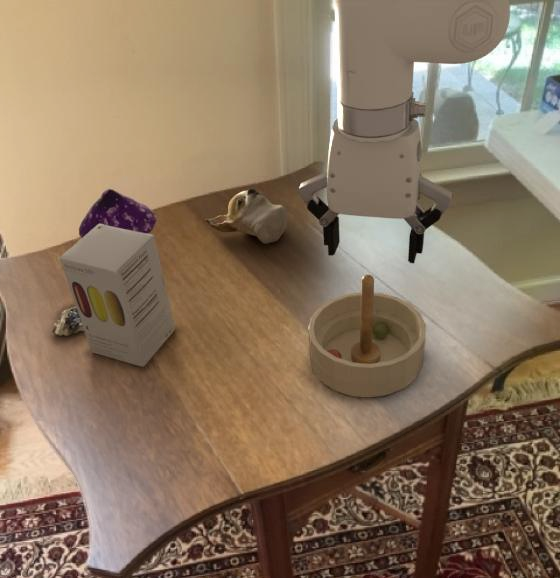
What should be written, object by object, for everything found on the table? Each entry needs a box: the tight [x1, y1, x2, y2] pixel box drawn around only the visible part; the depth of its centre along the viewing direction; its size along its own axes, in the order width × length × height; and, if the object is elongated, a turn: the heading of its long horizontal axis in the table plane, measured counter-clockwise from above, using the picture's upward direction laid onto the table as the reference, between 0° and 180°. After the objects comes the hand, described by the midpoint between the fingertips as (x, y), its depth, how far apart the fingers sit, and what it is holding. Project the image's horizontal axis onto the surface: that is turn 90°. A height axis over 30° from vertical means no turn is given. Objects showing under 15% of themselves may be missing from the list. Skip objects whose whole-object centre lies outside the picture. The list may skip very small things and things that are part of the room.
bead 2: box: [372, 322, 389, 339], centre depth 93 cm, size 2×2×2 cm
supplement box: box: [59, 224, 176, 368], centre depth 92 cm, size 10×9×17 cm
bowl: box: [307, 291, 427, 398], centre depth 90 cm, size 15×15×6 cm
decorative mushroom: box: [78, 188, 157, 239], centre depth 106 cm, size 12×12×15 cm
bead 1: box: [328, 349, 342, 359], centre depth 90 cm, size 2×2×2 cm
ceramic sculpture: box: [204, 188, 288, 245], centre depth 115 cm, size 11×9×15 cm
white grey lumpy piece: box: [51, 305, 85, 337], centre depth 102 cm, size 7×8×2 cm
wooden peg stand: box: [351, 274, 380, 364], centre depth 86 cm, size 4×4×14 cm
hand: (372, 252), depth 79 cm, fingers open, 9 cm apart
